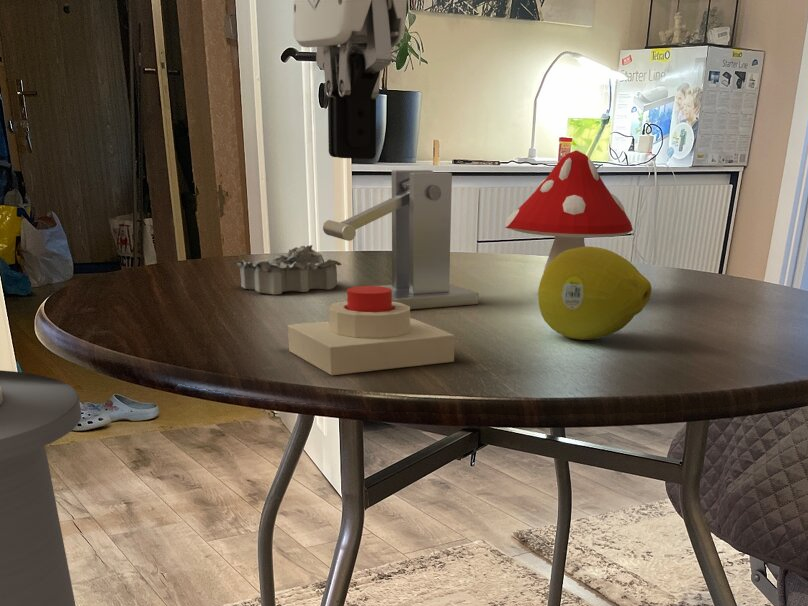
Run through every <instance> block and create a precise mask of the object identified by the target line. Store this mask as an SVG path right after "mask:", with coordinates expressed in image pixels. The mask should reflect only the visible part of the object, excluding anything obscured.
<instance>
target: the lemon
mask: <svg viewBox="0 0 808 606" xmlns="http://www.w3.org/2000/svg"><path fill="white" fill-rule="evenodd" d="M544 269H545V268H544ZM543 272H544V273H542V276H541V279H540V281H539V285H538V292H537V293H538V294H537V299H538V307H539V311H540V313H541V317H542V319H543V321H544V322H545V323H546V324H547V325H548V326H549V327H550V329H552V330H553V331H554V332H556V333H558V334H560V335H562V336H564V337H566V338H569V339H572V340H582V341H591V340H597V339H601V338H604V337H607V336H611V335H613V334H615V333H617V332H619V331H620V330H622V329H624V328H625V327H626V326H627V325H628V324H629V323H631V322H632V320H633V319H634V317H635V316H637V315H638V314H640V313H641V312H642V311H643V309H644V308H645V307H646V305H647V304H648V302H649V301H650V297H651V294H652V284H651V282H650V280H649V279H648V278H647V277H646V276H644V275H643V274H642V273H641V272H640V271H639V270H638V268H637V267H636V266H635V265H634V264H633V263H632V262H631V261H629V260H628V259H626V258H625V257H623V256H621V255H619V254H618V253H616V252H614V251H612V250H610V249H607V248H603V247H597V246H589V245H588V246H585V247H578V248H573V249H569V250H566V251H564V252H562V253H560V254H559V255H558V256H557V257H555V258H554V259H553V260H552V261H551V262H550V263H549V265H548V266H547V268H546V269H545V271H544V270H543Z"/></svg>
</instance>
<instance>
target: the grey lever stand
mask: <svg viewBox="0 0 808 606" xmlns="http://www.w3.org/2000/svg"><path fill="white" fill-rule="evenodd" d="M408 180H410V203H409V205H405V206H403V207H401V208H399V209H397V210H395V211H393V212H391V284H383V285H379V286H380V287H386V288H390V289H391V290H392V302H399V303H402V304H404V305H407V306H409V307H410V311H412V310H423V309H433V308H434V309H437V308H447V307H459V306H460V307H461V306H471V305H472V306H473V305H479V298H480V297H479V292H477V291H474V290H471V289H467V288H465V287H461V286H458V285H455V284H451V283H450V276H451V275H450V274H451V270H450V269H451V235H452V234H451V231H452V230H451V229H452V228H451V226H452V192H453V191H452V190H453V189H452V187H453V173H452V172H446V171H445V172H434V171H433V170H430V169H392V170H391V198H393V197H395V196H397V195H399V194H401V193H403V192H404V189H403V186H402V183H404V182H406V181H408Z"/></svg>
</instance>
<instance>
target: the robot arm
mask: <svg viewBox="0 0 808 606" xmlns="http://www.w3.org/2000/svg"><path fill="white" fill-rule="evenodd" d="M407 1H408V0H293V1H292V2H293V5H292V7H293V14H292V15H293V21H292V22H293V36H294V40H295V41H296V42H297V44H298V45H300V47H302V48H316V54H315V55H316V57H315V63H316V66H317V67H318V68H319V69H320V70H322V71H323V72H324V84H325V85H324V86H325V93H326V96H327V133H328V134H327V135H328V136H327V137H328V141H327V142H328V155H329V156H330V157H332V158H339V159H340V158H341V159H356V160H357V159H358V160H359V159H360V160H361V159H362V160H367V159H368V160H373V159H374V158H376V154H377V99H378V97H379V93H380V84H381V83H380V81H381V72H382V71H383V70H384V69H387V67H389V66H390V65H391V64H392V59H393V51H392V48H394V47H396V46H397V45H398V44H399V43H400V42H401V41H402V39H403V37H404V36H405V31H406V23H407V21H406V20H407V6H408V5H407V4H408V3H407ZM2 402H3V395H2V390H1V387H0V405H1V404H2Z"/></svg>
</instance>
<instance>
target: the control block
mask: <svg viewBox="0 0 808 606" xmlns="http://www.w3.org/2000/svg"><path fill="white" fill-rule="evenodd" d="M287 335H288V336H287V337H288V351H289V352H290V353H292V354H294V355H295V356H297V357H299V358H300V359H302V360H304V361H306V362H308V363H309V364H311V365H312V366H314V367H316V368H318V369H320V370H321V371H323V372H325V373H327V374H328V375H330V376H340V375H349V374H357V373H358V374H359V373H367V372H375V371H384V370H385V371H386V370H392V369H402V368H410V367H419V366H420V367H421V366H427V365H438V364H447V363H454V362H455V342H456V341H455V339H456V336H455V334H453V333H451V332H448V331H445V330H443V329H441V328H437V327H435V326H433V325H430V324H427V323H425V322H422V321H420V320H418V319H415V318H413V317H411V310H410V307H409V306H407V305H404V304H402V303H399V302H392V310H390V311H385V312H358V311H351V310H348V302H347V300H343V301H338V302H335V303H331V304H330V306H329V307H328V321H317V322H307V323H304V322H303V323H295V324H293V323H292V324H287Z"/></svg>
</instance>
